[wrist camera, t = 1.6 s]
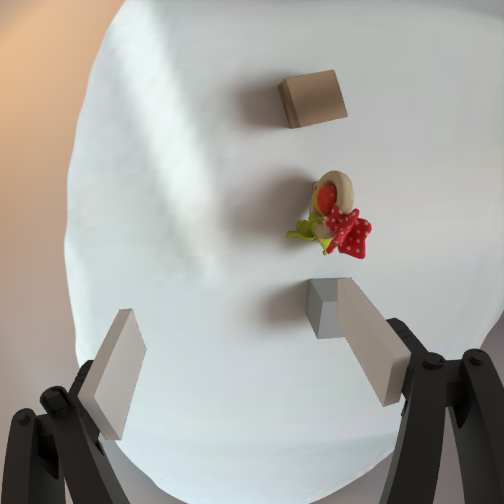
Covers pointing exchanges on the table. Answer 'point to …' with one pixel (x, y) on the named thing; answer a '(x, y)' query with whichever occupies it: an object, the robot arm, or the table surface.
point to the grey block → (323, 307)
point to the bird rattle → (334, 217)
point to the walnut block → (312, 99)
